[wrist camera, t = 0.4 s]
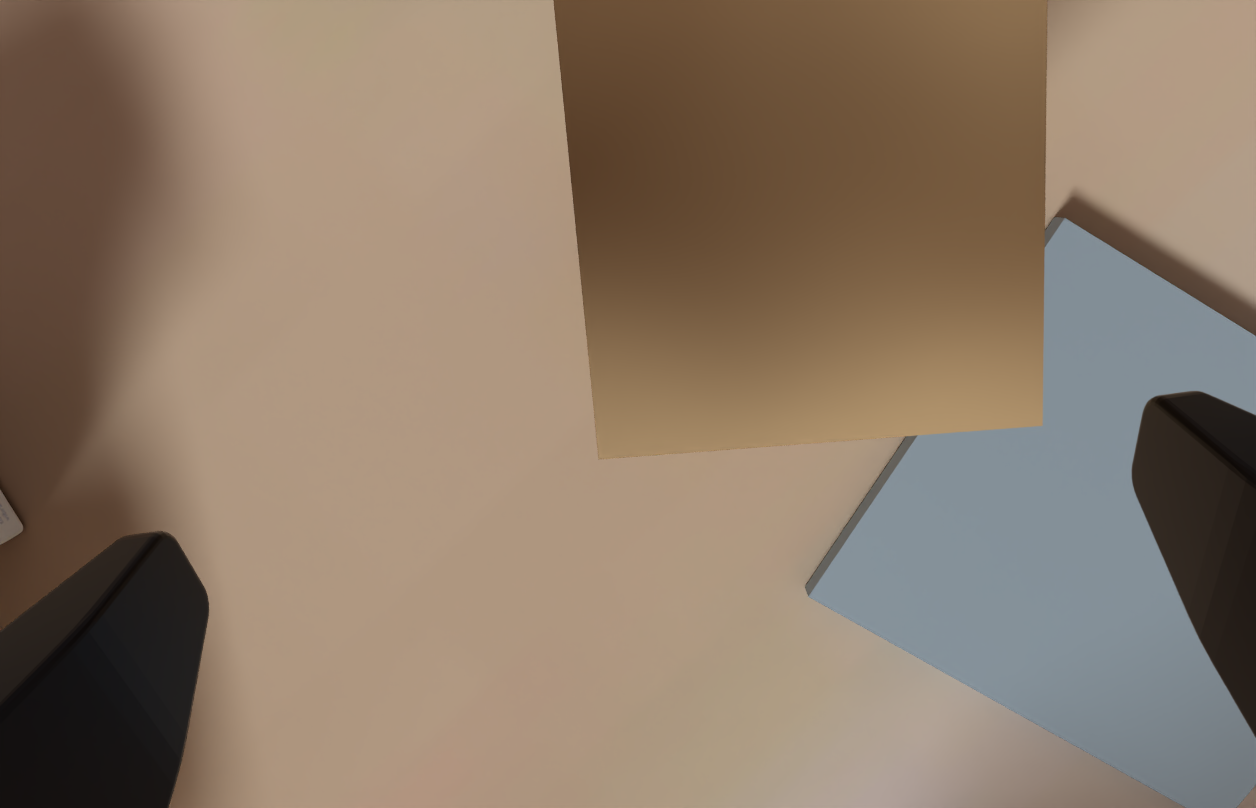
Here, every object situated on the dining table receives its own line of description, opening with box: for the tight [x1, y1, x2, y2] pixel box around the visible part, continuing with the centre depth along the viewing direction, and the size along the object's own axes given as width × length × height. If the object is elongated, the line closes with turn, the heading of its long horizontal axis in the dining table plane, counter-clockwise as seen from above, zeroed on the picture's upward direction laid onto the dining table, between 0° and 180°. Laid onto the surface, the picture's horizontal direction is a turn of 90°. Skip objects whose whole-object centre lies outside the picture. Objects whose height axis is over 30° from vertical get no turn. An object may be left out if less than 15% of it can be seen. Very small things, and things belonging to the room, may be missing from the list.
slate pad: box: [805, 217, 1256, 808], centre depth 24 cm, size 11×13×1 cm
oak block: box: [554, 0, 1047, 459], centre depth 17 cm, size 5×5×13 cm
